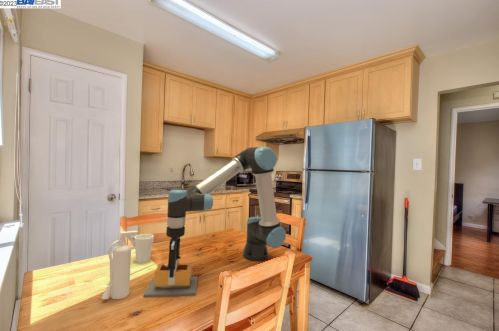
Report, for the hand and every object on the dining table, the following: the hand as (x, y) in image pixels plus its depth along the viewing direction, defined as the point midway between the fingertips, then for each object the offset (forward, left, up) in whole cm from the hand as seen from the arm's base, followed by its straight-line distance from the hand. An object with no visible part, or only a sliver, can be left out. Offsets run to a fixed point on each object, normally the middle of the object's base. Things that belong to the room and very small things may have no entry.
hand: (173, 278), depth 101 cm
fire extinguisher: (+20, +5, -4) cm, 21 cm away
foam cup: (+20, -28, -4) cm, 35 cm away
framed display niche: (0, 0, -1) cm, 1 cm away
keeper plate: (0, 0, -4) cm, 4 cm away
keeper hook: (+1, 0, -3) cm, 3 cm away
